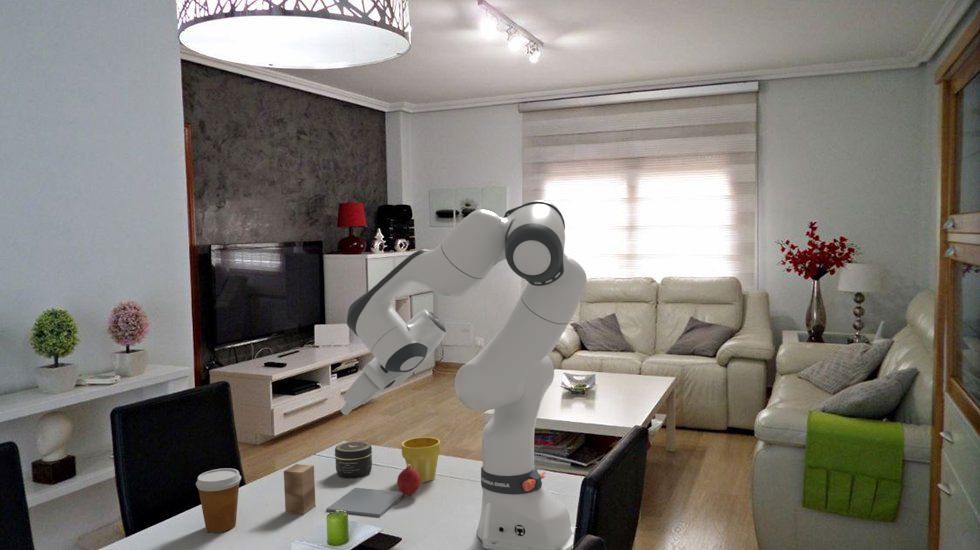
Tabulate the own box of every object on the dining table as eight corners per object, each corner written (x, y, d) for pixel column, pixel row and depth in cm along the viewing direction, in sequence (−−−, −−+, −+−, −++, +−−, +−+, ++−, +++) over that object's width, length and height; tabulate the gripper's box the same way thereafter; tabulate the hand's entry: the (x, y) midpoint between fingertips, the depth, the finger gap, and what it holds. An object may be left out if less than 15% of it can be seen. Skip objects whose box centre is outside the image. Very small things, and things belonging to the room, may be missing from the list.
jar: (368, 479, 183) (367, 451, 183) (331, 480, 183) (330, 452, 183) (375, 466, 193) (374, 440, 193) (340, 467, 193) (339, 440, 193)
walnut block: (315, 506, 165) (313, 465, 165) (304, 514, 160) (302, 472, 160) (297, 504, 167) (295, 464, 166) (285, 512, 162) (283, 471, 161)
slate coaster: (405, 494, 171) (405, 492, 171) (380, 516, 158) (380, 514, 158) (355, 489, 175) (355, 487, 175) (326, 511, 162) (326, 508, 162)
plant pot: (396, 476, 184) (394, 441, 184) (430, 469, 190) (429, 434, 189) (413, 488, 176) (412, 450, 175) (448, 479, 181) (447, 443, 181)
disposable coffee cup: (216, 539, 148) (213, 485, 147) (189, 530, 153) (186, 477, 152) (252, 523, 156) (250, 471, 155) (225, 515, 161) (223, 465, 160)
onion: (416, 501, 166) (416, 469, 166) (394, 500, 167) (394, 467, 167) (423, 492, 172) (423, 461, 172) (401, 491, 173) (401, 460, 173)
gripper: (399, 348, 167) (363, 386, 170) (362, 366, 147) (323, 408, 150) (416, 367, 166) (380, 405, 169) (382, 387, 146) (342, 429, 150)
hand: (353, 406), depth 160 cm, fingers open, 8 cm apart
